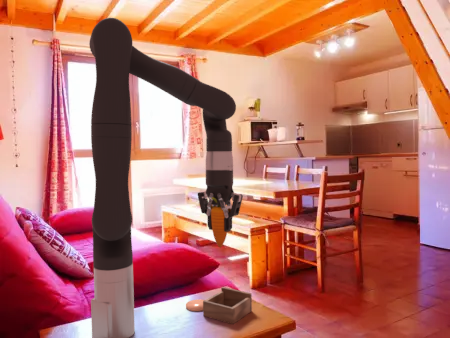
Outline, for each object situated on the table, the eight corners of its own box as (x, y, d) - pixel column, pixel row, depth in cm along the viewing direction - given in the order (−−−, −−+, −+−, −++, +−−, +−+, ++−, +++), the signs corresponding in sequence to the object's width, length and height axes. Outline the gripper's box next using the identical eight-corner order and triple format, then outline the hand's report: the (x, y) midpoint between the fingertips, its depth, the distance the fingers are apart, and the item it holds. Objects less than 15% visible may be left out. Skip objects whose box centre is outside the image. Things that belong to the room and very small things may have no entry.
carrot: (227, 250, 101) (226, 194, 100) (209, 249, 102) (208, 194, 101) (230, 245, 106) (230, 192, 105) (213, 245, 107) (212, 192, 106)
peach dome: (200, 313, 104) (200, 311, 104) (180, 307, 108) (180, 305, 108) (214, 304, 110) (214, 302, 110) (196, 299, 114) (196, 297, 114)
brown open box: (233, 324, 97) (232, 305, 97) (203, 315, 102) (203, 297, 102) (251, 310, 105) (251, 293, 105) (223, 303, 110) (222, 286, 110)
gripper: (190, 168, 104) (190, 229, 104) (233, 169, 96) (234, 235, 96) (206, 167, 110) (207, 225, 111) (248, 168, 102) (249, 230, 102)
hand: (219, 230), depth 103 cm, fingers closed on carrot, 4 cm apart
